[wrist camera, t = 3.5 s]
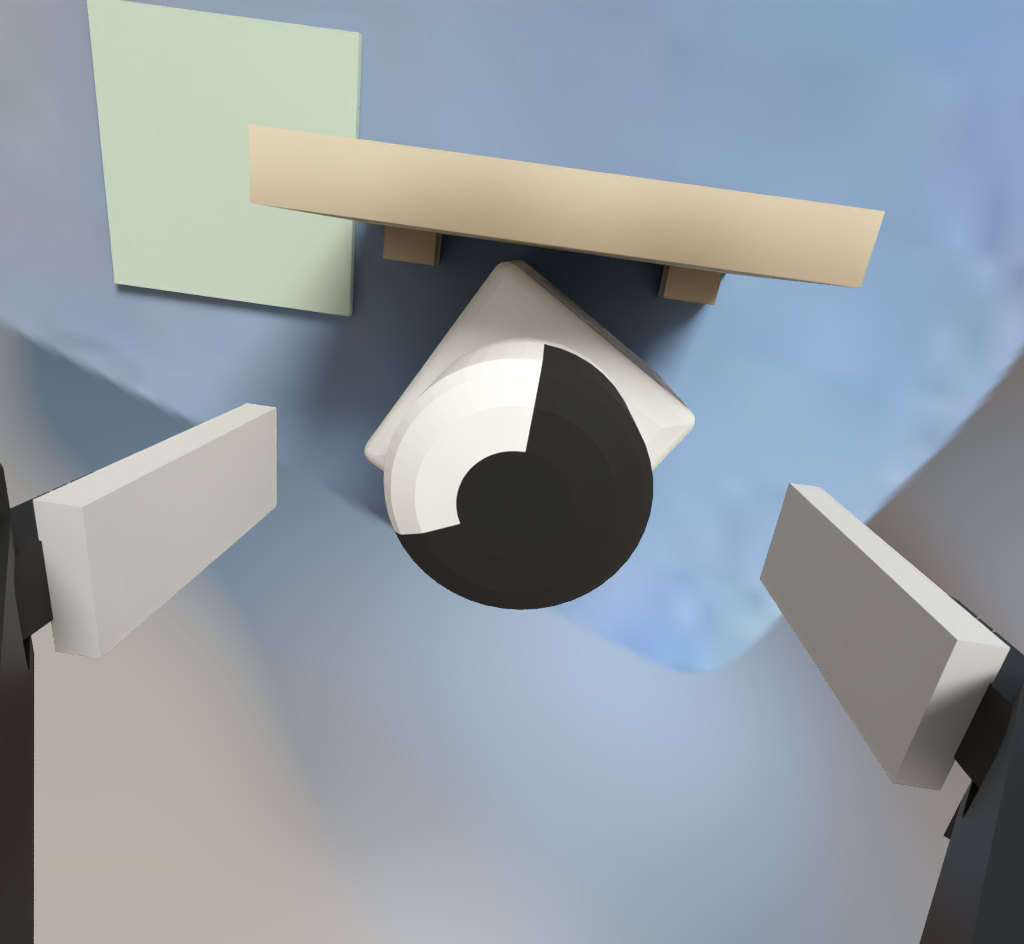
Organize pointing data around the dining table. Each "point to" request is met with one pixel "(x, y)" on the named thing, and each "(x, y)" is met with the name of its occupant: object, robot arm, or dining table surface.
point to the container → (525, 448)
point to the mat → (219, 151)
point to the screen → (560, 211)
